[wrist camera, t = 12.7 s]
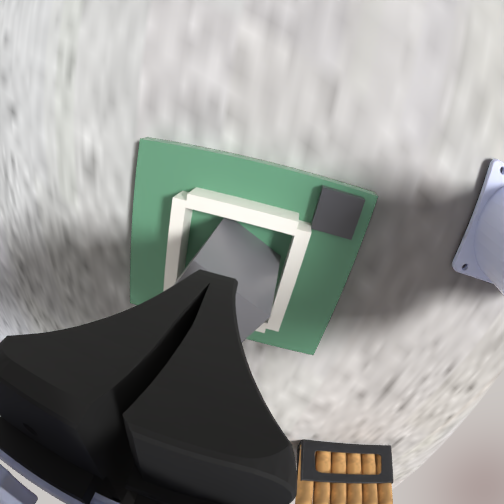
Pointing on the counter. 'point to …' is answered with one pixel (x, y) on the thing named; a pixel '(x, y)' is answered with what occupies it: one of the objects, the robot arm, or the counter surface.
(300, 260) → the board
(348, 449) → the ammunition clip
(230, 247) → the plug
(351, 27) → the counter surface
